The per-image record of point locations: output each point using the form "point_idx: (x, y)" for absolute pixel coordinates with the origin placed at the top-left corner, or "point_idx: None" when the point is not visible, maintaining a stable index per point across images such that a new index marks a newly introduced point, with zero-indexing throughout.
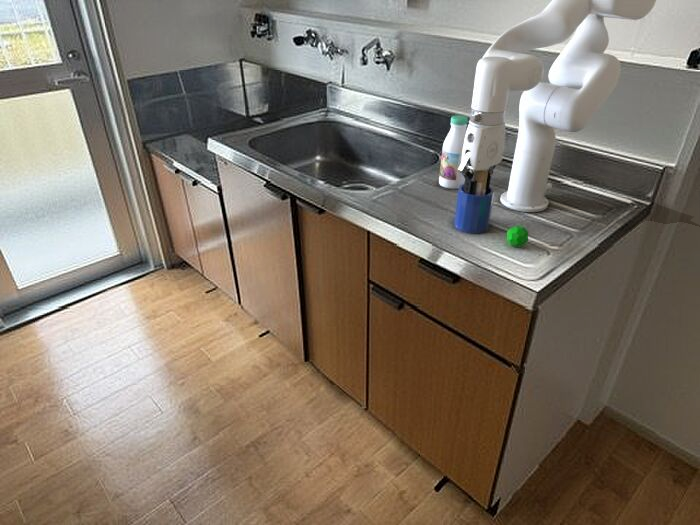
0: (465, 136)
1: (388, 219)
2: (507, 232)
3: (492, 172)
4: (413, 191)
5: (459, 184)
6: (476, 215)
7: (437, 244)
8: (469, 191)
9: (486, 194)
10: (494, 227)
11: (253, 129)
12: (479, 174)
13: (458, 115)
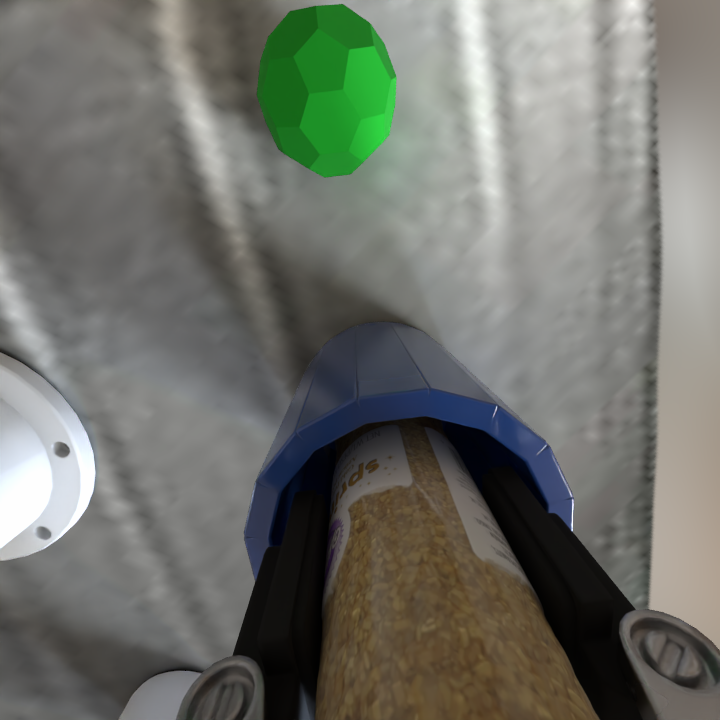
0: None
1: (626, 592)
2: (370, 148)
3: (192, 708)
4: None
5: (178, 691)
6: (455, 360)
7: (639, 340)
8: (559, 521)
9: (287, 488)
10: (292, 331)
11: None
12: None
13: None
